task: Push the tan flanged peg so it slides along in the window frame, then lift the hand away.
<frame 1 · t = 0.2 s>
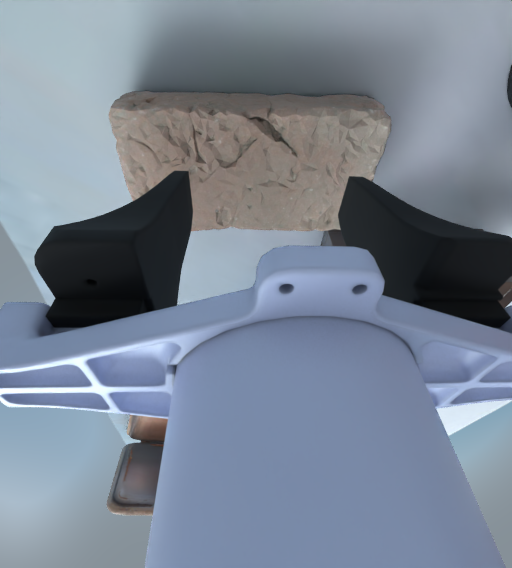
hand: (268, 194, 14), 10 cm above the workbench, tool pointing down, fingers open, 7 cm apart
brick: (252, 150, 22), on the workbench
window frame: (398, 240, 29), on the workbench
case: (181, 418, 61), on the workbench
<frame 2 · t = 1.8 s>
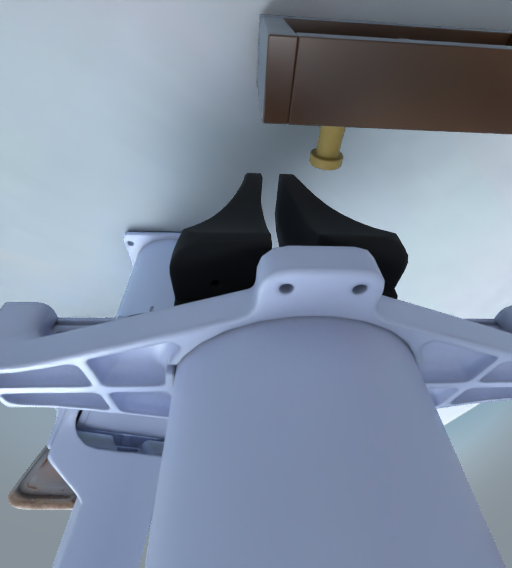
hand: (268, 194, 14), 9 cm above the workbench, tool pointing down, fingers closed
tan flanged peg: (333, 124, 17), point 4 cm above the workbench, slide at 0.0 cm
window frame: (383, 58, 18), on the workbench
case: (129, 394, 50), on the workbench
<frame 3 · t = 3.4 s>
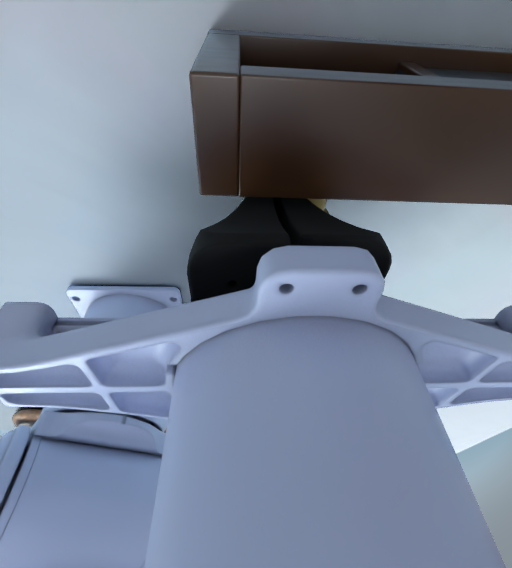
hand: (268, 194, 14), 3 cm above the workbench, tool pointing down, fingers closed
tan flanged peg: (315, 177, 13), point 4 cm above the workbench, slide at 0.1 cm, touching gripper
window frame: (380, 86, 13), on the workbench
case: (102, 435, 46), on the workbench
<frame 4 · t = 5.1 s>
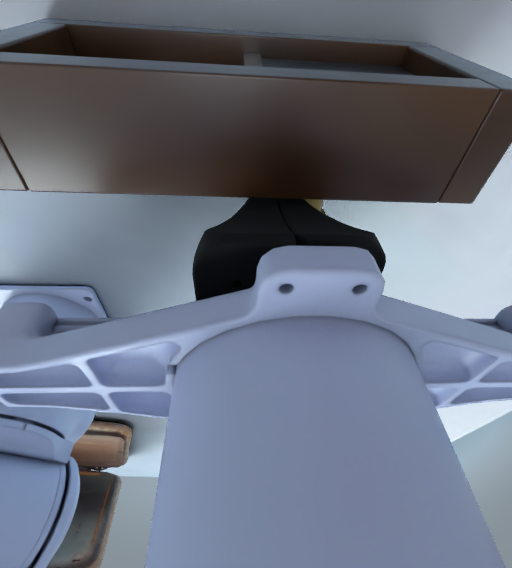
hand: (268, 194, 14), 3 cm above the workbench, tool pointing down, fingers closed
tan flanged peg: (311, 178, 13), point 3 cm above the workbench, slide at 6.1 cm, touching gripper
window frame: (242, 79, 13), on the workbench
case: (60, 436, 45), on the workbench
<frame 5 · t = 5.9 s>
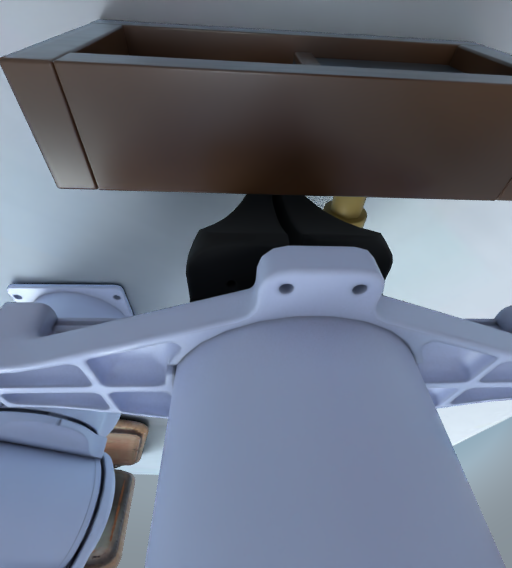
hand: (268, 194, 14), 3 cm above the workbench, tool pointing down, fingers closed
tan flanged peg: (356, 176, 13), point 4 cm above the workbench, slide at 6.0 cm
window frame: (287, 78, 13), on the workbench
case: (76, 434, 46), on the workbench
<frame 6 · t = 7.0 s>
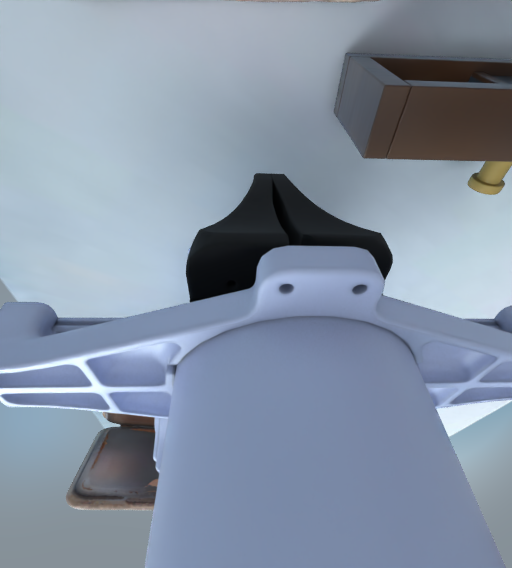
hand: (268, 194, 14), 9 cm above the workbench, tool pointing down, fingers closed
tan flanged peg: (504, 154, 19), point 4 cm above the workbench, slide at 6.0 cm
window frame: (454, 88, 19), on the workbench
case: (166, 397, 52), on the workbench
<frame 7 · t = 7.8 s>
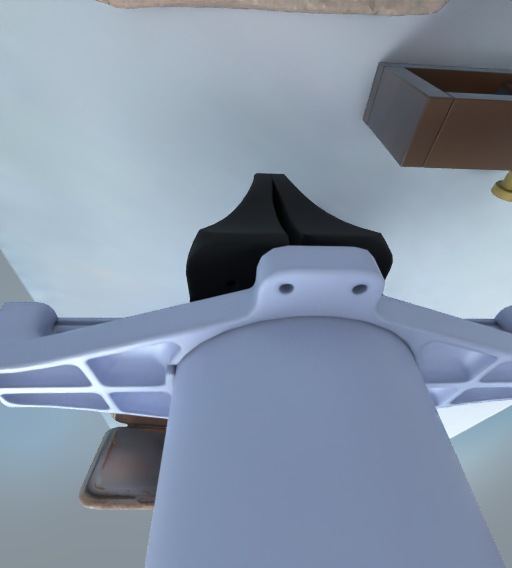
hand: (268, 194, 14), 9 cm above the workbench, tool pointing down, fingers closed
window frame: (481, 98, 20), on the workbench
case: (174, 397, 52), on the workbench
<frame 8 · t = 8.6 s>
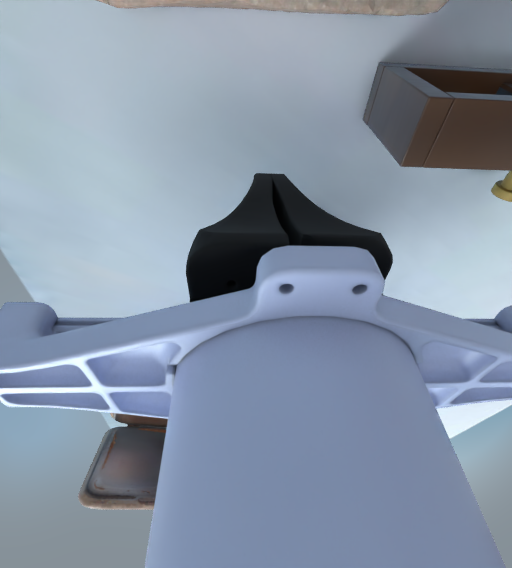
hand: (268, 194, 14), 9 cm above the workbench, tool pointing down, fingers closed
window frame: (481, 98, 20), on the workbench
case: (174, 397, 52), on the workbench
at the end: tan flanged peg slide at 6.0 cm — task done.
